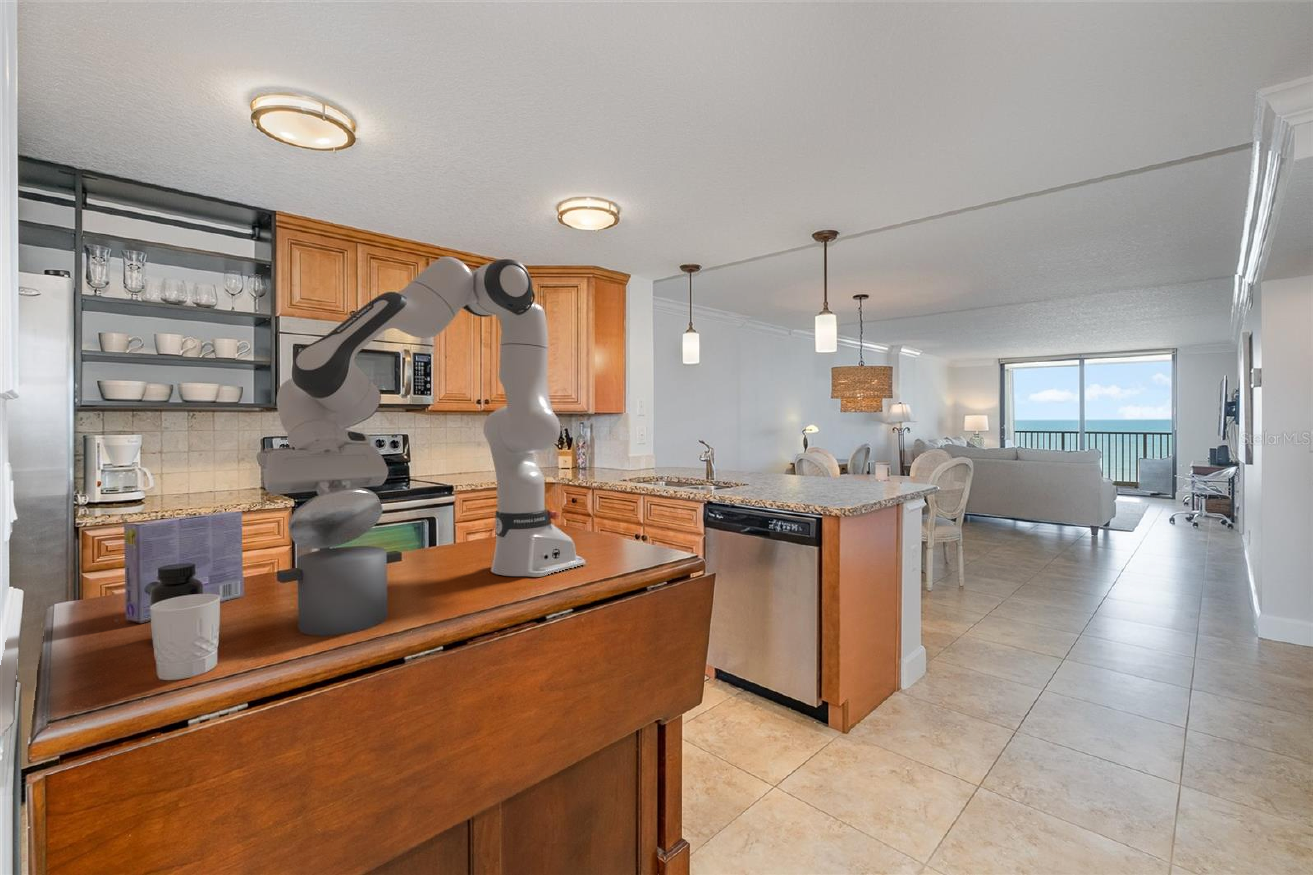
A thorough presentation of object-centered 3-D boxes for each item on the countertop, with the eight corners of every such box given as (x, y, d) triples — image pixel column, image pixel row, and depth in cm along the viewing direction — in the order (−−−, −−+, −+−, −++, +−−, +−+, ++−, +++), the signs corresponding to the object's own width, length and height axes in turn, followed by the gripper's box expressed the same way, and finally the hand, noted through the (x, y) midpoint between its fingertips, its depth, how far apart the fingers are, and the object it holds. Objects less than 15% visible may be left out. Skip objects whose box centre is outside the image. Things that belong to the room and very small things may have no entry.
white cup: (167, 687, 80) (165, 614, 80) (141, 675, 84) (139, 605, 83) (232, 666, 87) (231, 598, 86) (205, 655, 91) (203, 590, 90)
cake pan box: (235, 592, 124) (232, 508, 123) (250, 595, 122) (248, 509, 121) (123, 621, 106) (119, 523, 105) (139, 625, 104) (136, 525, 103)
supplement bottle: (207, 638, 98) (205, 566, 97) (153, 649, 93) (150, 573, 93) (201, 627, 103) (199, 559, 102) (149, 638, 98) (147, 566, 97)
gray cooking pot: (383, 600, 118) (381, 540, 117) (417, 615, 109) (416, 550, 108) (267, 627, 103) (265, 558, 102) (295, 647, 94) (294, 572, 93)
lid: (369, 541, 116) (366, 534, 116) (393, 490, 108) (390, 483, 109) (281, 554, 104) (279, 547, 105) (302, 499, 97) (299, 491, 98)
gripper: (257, 437, 102) (277, 498, 96) (377, 434, 118) (401, 487, 112) (250, 461, 105) (269, 522, 99) (368, 456, 121) (390, 509, 115)
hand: (340, 504), depth 106 cm, fingers closed, pressing on lid
